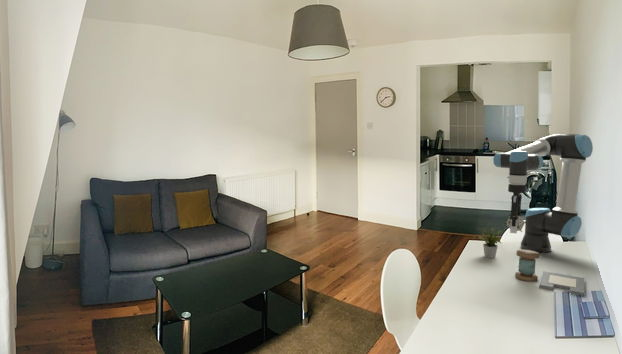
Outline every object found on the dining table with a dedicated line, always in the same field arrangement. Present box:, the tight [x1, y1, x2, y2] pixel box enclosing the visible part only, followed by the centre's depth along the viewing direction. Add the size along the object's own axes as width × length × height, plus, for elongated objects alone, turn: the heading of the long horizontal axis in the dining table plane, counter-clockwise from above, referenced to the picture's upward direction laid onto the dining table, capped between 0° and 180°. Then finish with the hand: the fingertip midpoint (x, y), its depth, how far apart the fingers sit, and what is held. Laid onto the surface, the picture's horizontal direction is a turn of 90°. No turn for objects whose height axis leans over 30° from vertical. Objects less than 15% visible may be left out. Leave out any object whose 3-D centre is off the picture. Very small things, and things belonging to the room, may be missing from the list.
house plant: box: [477, 226, 503, 259], centre depth 217 cm, size 14×14×16 cm
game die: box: [504, 214, 527, 233], centre depth 196 cm, size 9×8×10 cm
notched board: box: [538, 270, 585, 296], centre depth 179 cm, size 20×16×2 cm
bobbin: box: [514, 249, 540, 283], centre depth 186 cm, size 9×9×12 cm
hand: (514, 230), depth 197 cm, fingers closed on game die, 8 cm apart
